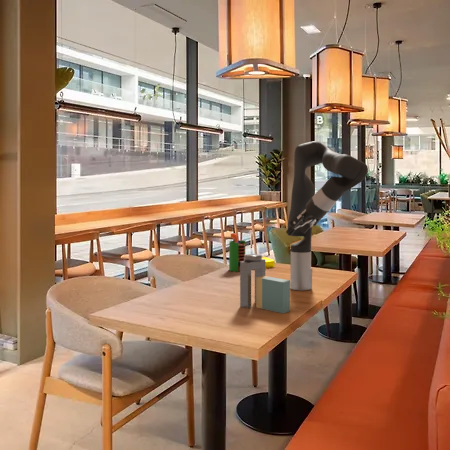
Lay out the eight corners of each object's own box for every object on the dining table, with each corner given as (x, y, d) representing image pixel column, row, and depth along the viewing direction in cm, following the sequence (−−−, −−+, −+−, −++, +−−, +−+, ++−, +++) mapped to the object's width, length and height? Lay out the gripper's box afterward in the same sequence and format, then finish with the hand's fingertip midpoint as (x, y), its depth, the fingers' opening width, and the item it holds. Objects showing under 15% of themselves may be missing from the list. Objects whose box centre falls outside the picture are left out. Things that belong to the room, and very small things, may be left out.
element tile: (252, 270, 277) (252, 261, 276) (240, 265, 290) (240, 257, 290) (276, 267, 282) (276, 259, 282) (263, 263, 296) (264, 255, 296)
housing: (268, 303, 205) (268, 254, 203) (250, 308, 197) (250, 258, 195) (254, 300, 209) (254, 253, 207) (237, 305, 201) (237, 256, 199)
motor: (243, 272, 269) (243, 234, 267) (227, 271, 271) (227, 234, 269) (246, 268, 279) (246, 232, 277) (231, 268, 281) (230, 232, 279)
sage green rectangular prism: (289, 311, 193) (290, 280, 192) (282, 313, 190) (283, 282, 189) (263, 305, 202) (263, 275, 201) (256, 307, 199) (256, 277, 198)
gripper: (326, 194, 183) (300, 223, 192) (303, 195, 173) (277, 226, 182) (339, 209, 180) (312, 238, 189) (316, 211, 170) (289, 242, 179)
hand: (295, 232), depth 186 cm, fingers open, 8 cm apart
